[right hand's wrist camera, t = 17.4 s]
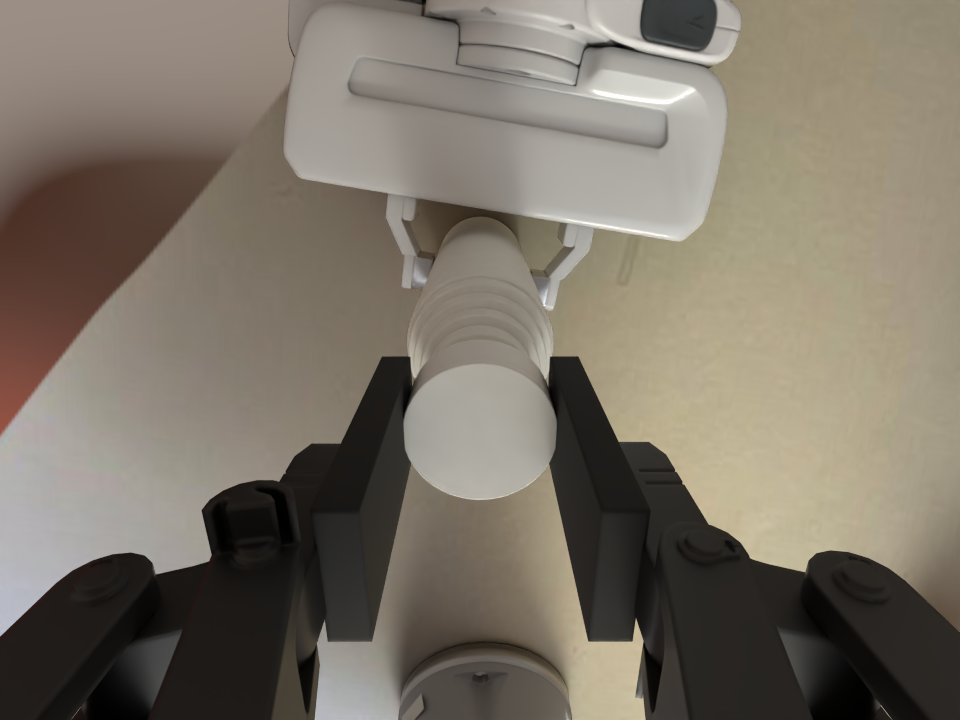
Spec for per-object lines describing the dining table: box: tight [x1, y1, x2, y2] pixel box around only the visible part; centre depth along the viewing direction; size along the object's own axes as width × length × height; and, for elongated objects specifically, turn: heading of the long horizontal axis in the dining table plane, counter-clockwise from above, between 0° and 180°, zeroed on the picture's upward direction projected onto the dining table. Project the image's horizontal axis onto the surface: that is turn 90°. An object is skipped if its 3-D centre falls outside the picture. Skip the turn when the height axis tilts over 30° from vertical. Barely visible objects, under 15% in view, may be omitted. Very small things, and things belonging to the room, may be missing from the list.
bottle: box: [407, 217, 554, 379], centre depth 24 cm, size 5×5×22 cm
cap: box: [403, 339, 557, 500], centre depth 14 cm, size 4×4×2 cm
